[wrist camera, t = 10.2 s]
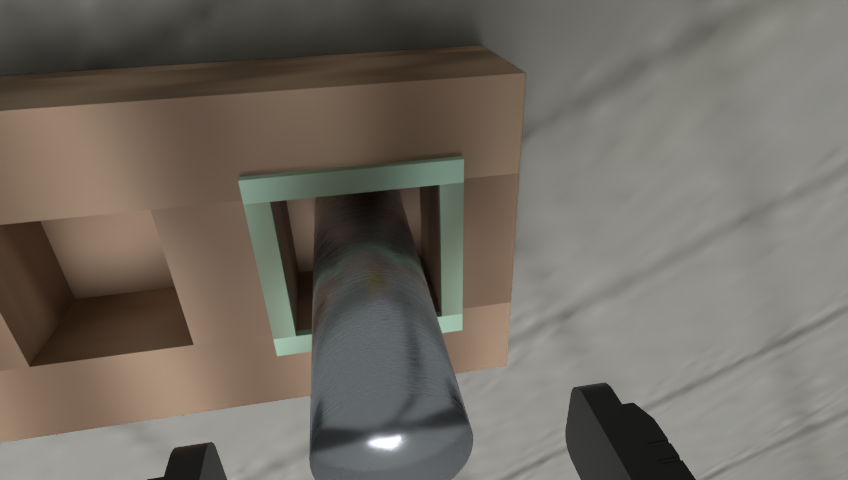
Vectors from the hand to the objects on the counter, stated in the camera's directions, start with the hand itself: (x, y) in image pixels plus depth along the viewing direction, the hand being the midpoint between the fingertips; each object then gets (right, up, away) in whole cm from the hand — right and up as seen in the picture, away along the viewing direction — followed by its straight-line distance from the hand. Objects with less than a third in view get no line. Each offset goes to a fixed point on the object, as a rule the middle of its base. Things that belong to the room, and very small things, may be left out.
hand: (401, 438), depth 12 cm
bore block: (-7, +6, +10) cm, 14 cm away
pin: (-2, +6, +10) cm, 12 cm away
